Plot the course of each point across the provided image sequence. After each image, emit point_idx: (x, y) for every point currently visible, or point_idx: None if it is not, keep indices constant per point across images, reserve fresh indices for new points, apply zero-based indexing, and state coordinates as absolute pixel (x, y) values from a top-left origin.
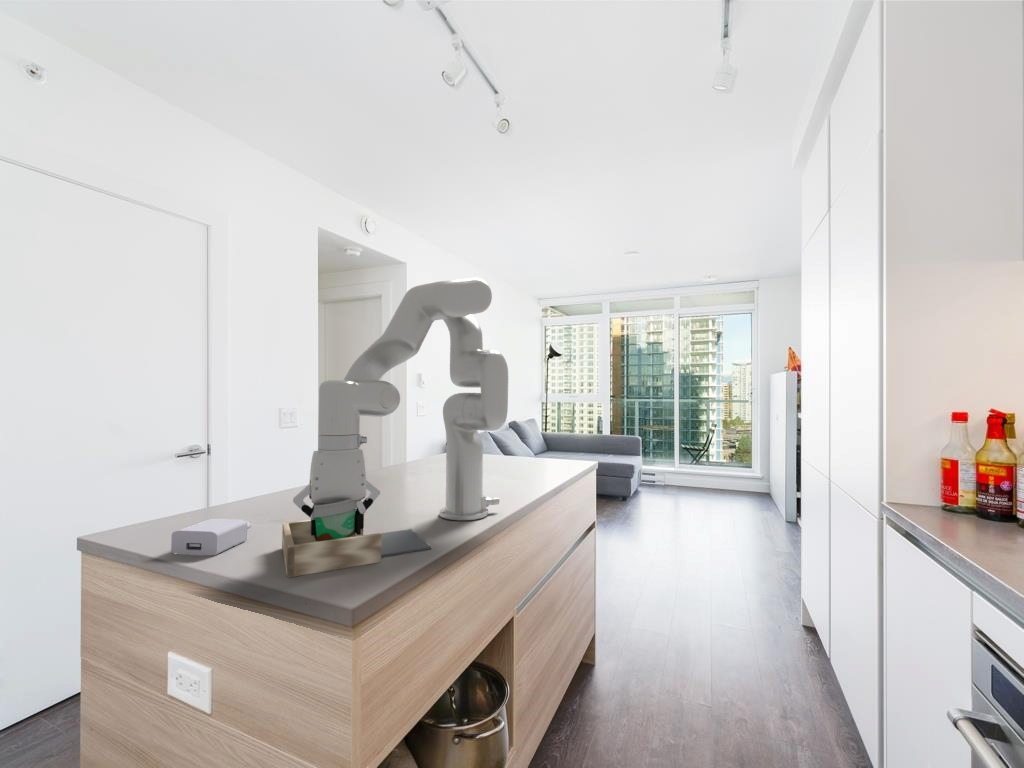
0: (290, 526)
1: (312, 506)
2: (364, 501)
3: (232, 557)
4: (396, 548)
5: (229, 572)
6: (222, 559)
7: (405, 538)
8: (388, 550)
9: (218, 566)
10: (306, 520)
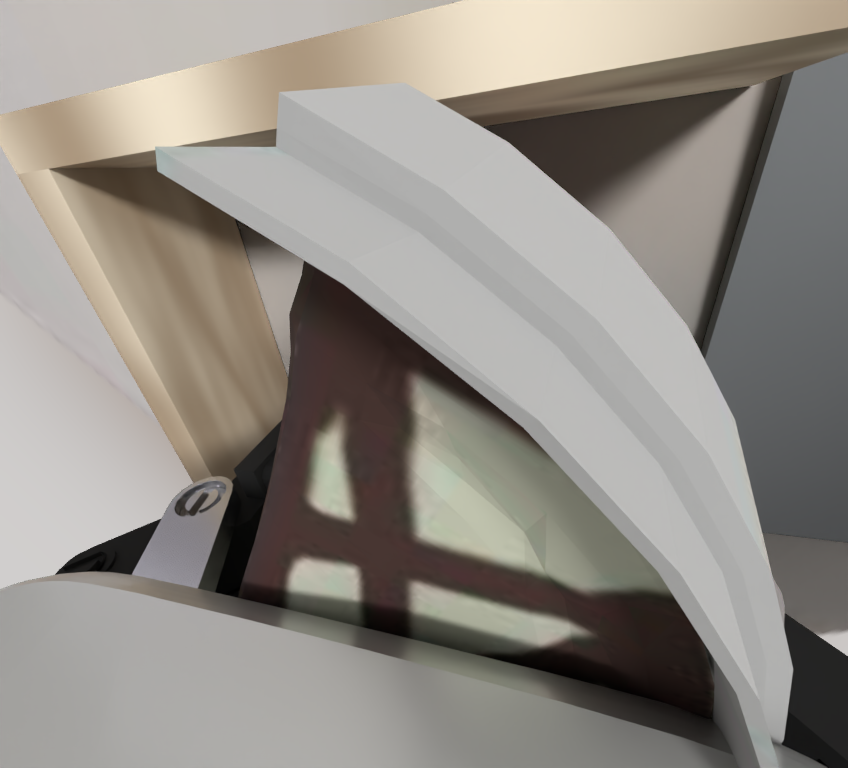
0: (91, 165)
1: (144, 561)
2: (821, 756)
3: (32, 207)
4: (795, 486)
5: (132, 385)
6: (12, 220)
7: None
8: None
9: (59, 308)
10: (153, 99)
